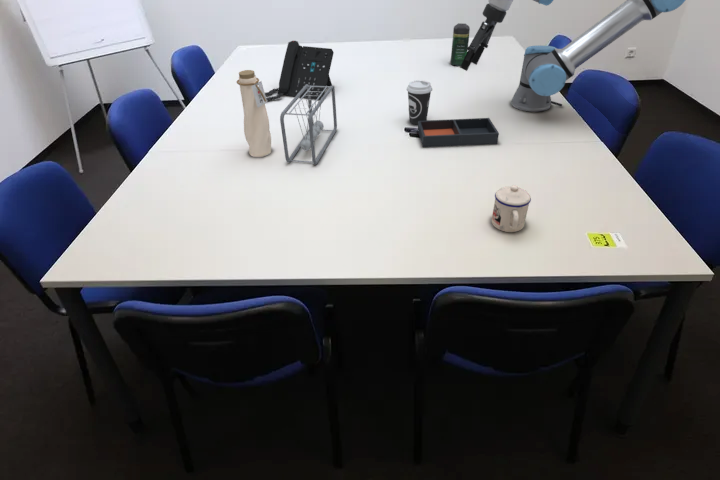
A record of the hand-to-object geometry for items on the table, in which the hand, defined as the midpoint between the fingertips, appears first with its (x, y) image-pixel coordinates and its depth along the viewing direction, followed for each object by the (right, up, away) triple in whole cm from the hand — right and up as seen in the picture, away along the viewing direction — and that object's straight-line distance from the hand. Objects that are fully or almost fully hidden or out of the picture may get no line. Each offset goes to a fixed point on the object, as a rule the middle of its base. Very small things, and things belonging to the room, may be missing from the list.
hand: (468, 66), depth 174 cm
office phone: (-70, +1, +38) cm, 79 cm away
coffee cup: (-18, -19, +9) cm, 27 cm away
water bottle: (-75, -33, -7) cm, 82 cm away
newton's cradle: (-57, -31, -4) cm, 65 cm away
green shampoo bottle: (+10, +25, +65) cm, 71 cm away
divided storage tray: (-5, -27, -2) cm, 28 cm away
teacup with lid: (0, -61, -47) cm, 77 cm away
